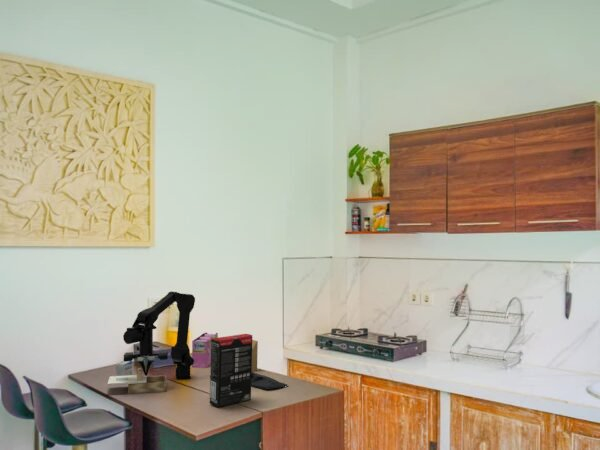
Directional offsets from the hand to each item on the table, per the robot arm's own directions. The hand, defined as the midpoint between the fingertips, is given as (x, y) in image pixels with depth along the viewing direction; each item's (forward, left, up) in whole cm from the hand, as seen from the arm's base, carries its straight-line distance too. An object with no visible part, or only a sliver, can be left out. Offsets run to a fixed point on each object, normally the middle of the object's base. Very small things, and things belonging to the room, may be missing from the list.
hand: (145, 375), depth 259 cm
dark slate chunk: (-52, +3, -7) cm, 53 cm away
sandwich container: (-45, -21, -6) cm, 50 cm away
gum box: (-29, -44, -6) cm, 53 cm away
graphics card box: (-35, +27, -6) cm, 44 cm away
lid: (+8, 0, -2) cm, 8 cm away
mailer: (-1, 0, -6) cm, 6 cm away
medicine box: (+10, -16, -6) cm, 20 cm away
